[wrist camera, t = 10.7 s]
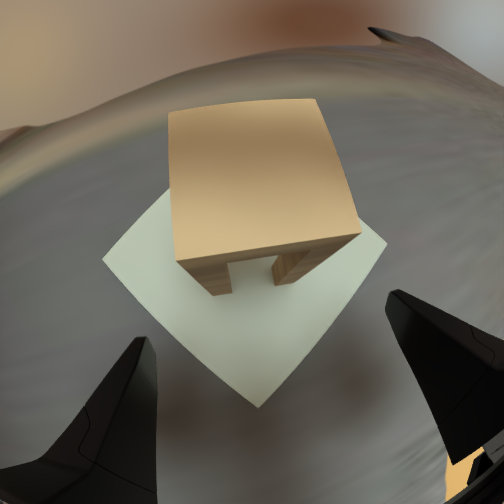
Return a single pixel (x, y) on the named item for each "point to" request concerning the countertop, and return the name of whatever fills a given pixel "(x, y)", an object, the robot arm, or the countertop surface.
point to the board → (239, 302)
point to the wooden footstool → (256, 190)
